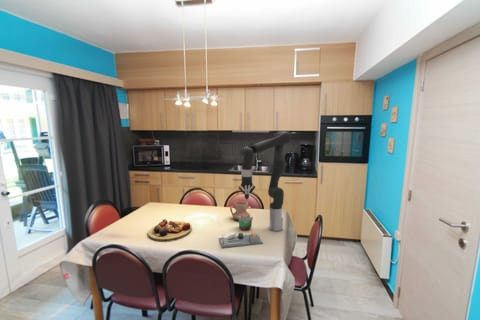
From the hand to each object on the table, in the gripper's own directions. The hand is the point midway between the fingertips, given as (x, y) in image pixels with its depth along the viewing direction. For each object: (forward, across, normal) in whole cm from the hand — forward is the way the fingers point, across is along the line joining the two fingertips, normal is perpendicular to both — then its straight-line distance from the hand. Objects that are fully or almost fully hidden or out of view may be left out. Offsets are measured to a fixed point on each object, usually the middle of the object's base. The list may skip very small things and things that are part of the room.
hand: (246, 198), depth 169 cm
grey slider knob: (+26, -18, -12) cm, 34 cm away
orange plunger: (+25, +2, -12) cm, 28 cm away
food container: (+27, 0, +9) cm, 29 cm away
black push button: (+26, -6, -6) cm, 27 cm away
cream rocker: (+24, -14, -6) cm, 28 cm away
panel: (+27, -7, -10) cm, 29 cm away
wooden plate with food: (+28, -55, +18) cm, 64 cm away
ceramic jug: (+27, +2, +30) cm, 41 cm away
